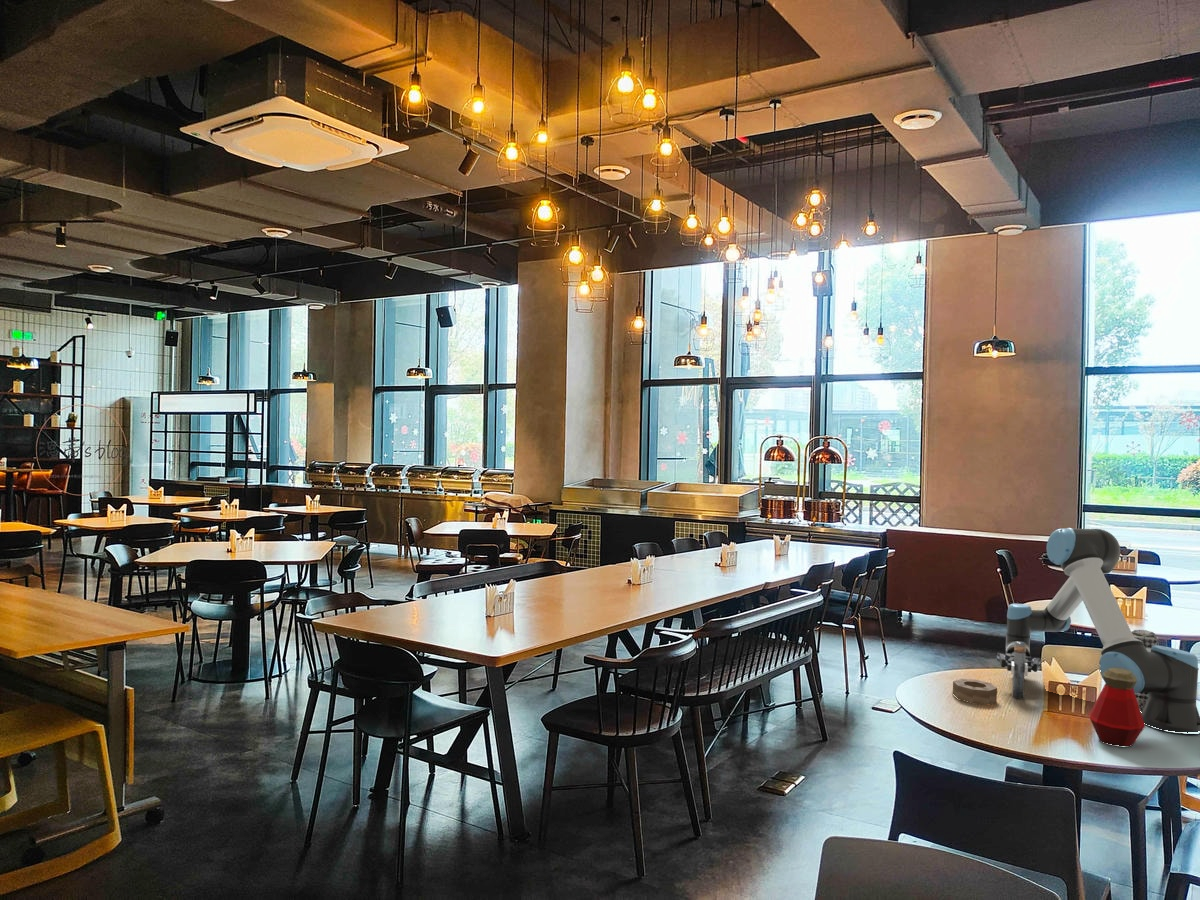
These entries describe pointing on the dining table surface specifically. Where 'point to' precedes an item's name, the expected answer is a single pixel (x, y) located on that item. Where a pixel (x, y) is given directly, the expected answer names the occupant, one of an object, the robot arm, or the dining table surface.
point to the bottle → (1117, 709)
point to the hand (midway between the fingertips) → (1019, 671)
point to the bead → (975, 691)
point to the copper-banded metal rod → (1019, 670)
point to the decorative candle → (1148, 641)
